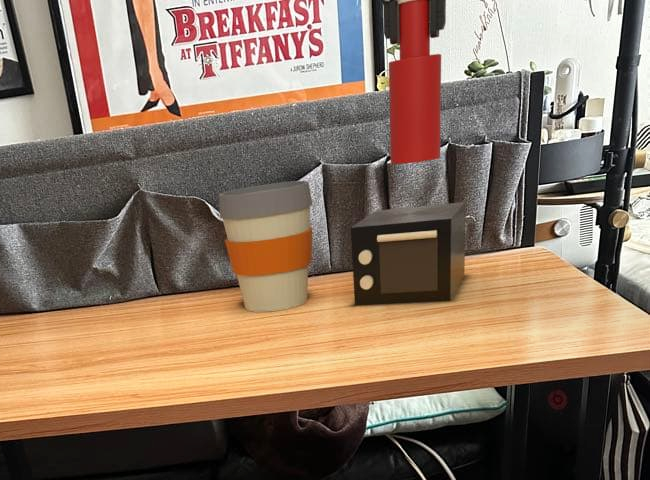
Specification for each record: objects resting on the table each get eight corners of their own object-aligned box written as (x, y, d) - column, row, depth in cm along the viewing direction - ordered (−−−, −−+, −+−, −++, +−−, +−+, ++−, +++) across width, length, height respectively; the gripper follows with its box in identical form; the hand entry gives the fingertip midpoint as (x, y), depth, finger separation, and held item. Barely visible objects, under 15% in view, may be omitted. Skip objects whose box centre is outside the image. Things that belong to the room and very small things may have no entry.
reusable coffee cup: (233, 300, 109) (218, 191, 101) (316, 288, 108) (307, 178, 101) (231, 319, 98) (215, 199, 91) (324, 307, 97) (314, 184, 90)
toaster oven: (464, 280, 100) (465, 201, 95) (448, 308, 88) (449, 220, 83) (378, 285, 104) (375, 210, 99) (352, 313, 92) (347, 229, 87)
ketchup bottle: (443, 155, 85) (445, -19, 77) (436, 160, 81) (437, -24, 72) (395, 161, 87) (392, -8, 79) (386, 165, 83) (382, -13, 74)
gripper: (332, -164, 69) (342, 50, 78) (487, -208, 64) (480, 27, 73) (350, -145, 75) (358, 52, 84) (494, -184, 70) (486, 30, 78)
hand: (414, 39), depth 78 cm, fingers closed on ketchup bottle, 3 cm apart
